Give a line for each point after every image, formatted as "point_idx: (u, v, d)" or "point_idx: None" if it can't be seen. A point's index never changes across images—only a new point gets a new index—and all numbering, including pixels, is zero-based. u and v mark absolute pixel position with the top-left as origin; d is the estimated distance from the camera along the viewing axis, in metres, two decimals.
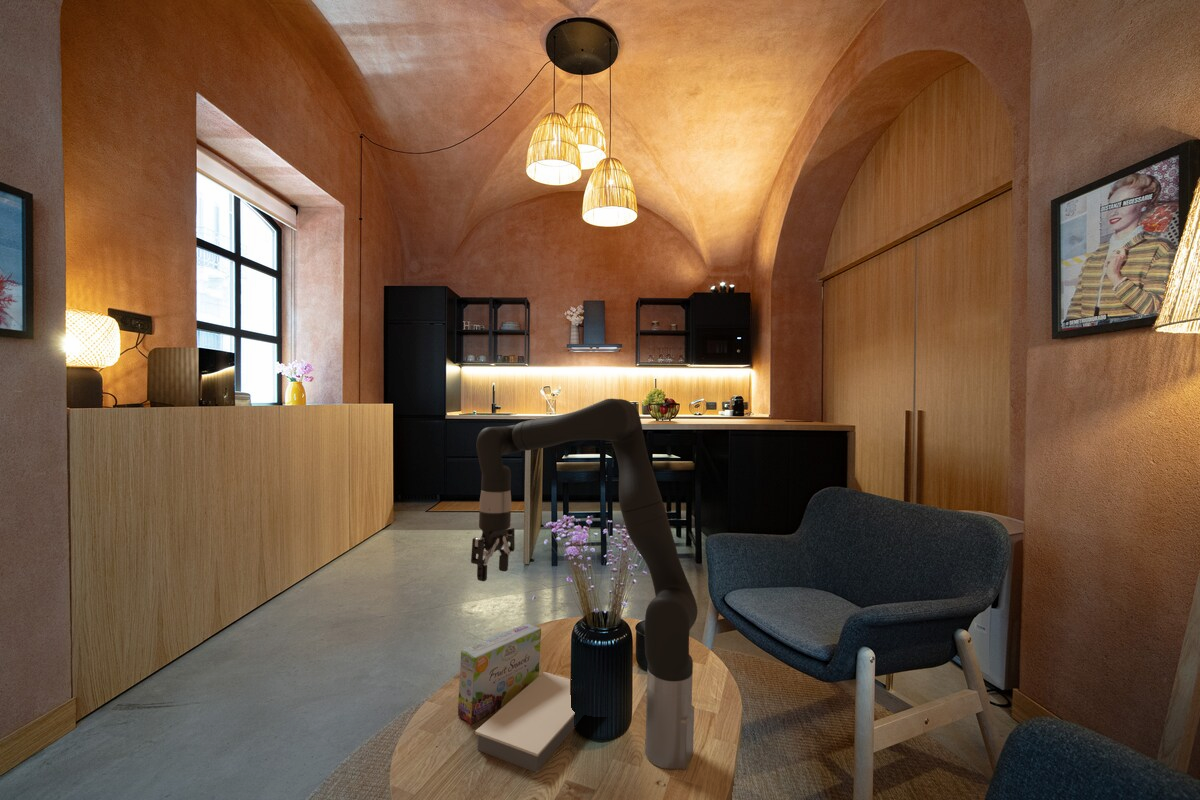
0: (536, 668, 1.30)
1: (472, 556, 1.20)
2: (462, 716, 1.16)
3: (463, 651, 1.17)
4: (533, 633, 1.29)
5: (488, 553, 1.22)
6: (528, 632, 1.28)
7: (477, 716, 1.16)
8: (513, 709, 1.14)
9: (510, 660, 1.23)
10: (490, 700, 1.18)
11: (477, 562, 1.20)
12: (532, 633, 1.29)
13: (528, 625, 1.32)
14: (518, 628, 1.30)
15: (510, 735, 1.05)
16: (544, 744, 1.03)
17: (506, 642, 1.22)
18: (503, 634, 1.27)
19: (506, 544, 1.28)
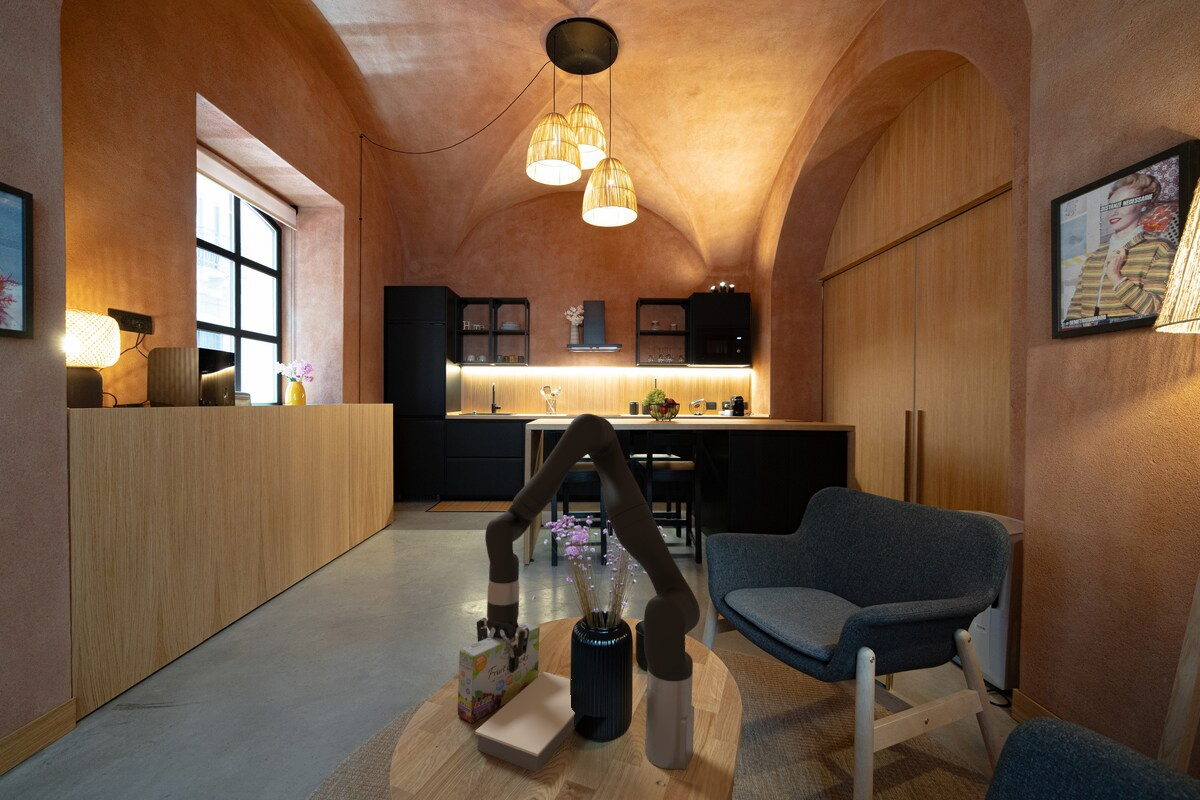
0: (535, 667, 1.30)
1: (521, 649, 1.21)
2: (462, 715, 1.16)
3: (462, 650, 1.18)
4: (531, 631, 1.29)
5: (517, 641, 1.25)
6: None
7: (477, 715, 1.16)
8: (513, 709, 1.14)
9: (509, 658, 1.23)
10: (489, 699, 1.18)
11: (525, 651, 1.23)
12: (530, 631, 1.29)
13: (526, 624, 1.33)
14: None
15: (510, 735, 1.05)
16: (544, 744, 1.03)
17: None
18: None
19: None
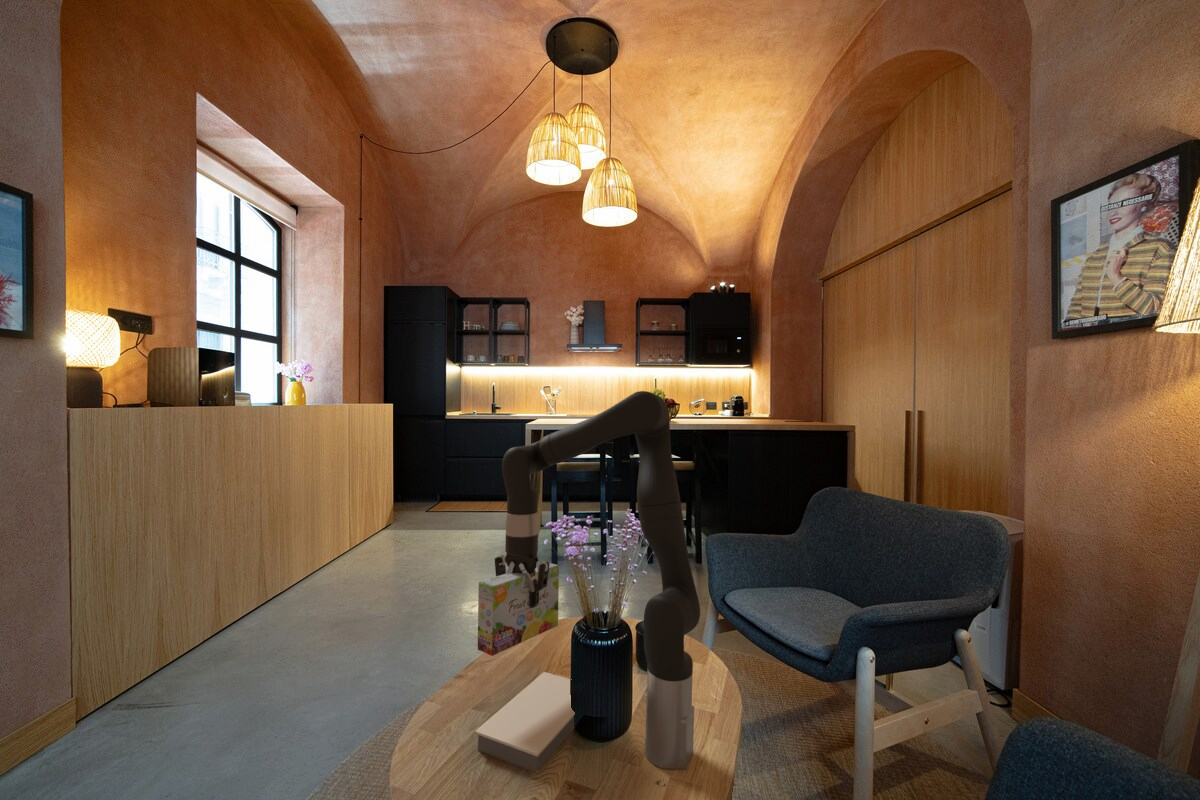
0: (555, 606, 1.26)
1: (542, 583, 1.17)
2: (482, 649, 1.12)
3: (481, 582, 1.14)
4: (551, 569, 1.25)
5: (537, 576, 1.21)
6: None
7: (498, 648, 1.12)
8: (513, 709, 1.14)
9: (529, 593, 1.19)
10: (510, 633, 1.14)
11: (545, 585, 1.19)
12: (550, 568, 1.25)
13: None
14: None
15: (510, 735, 1.05)
16: (544, 744, 1.03)
17: None
18: None
19: None
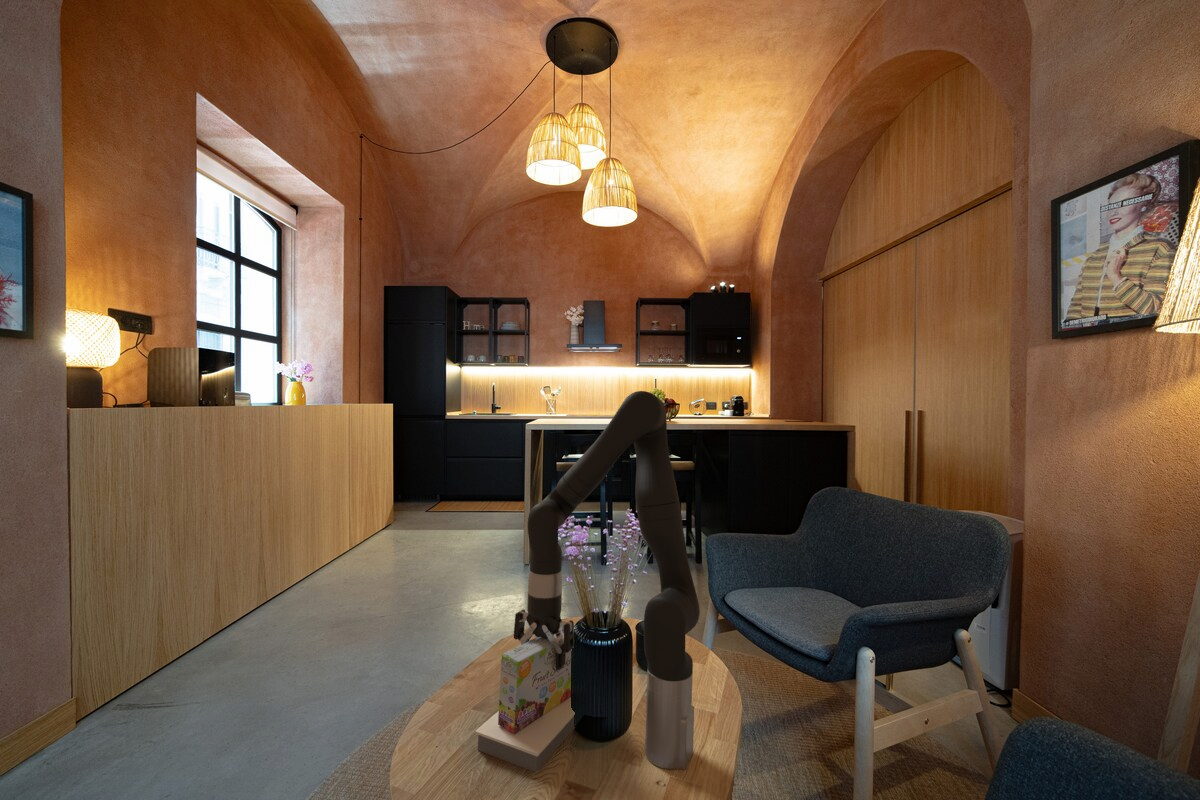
0: None
1: (569, 644, 1.12)
2: (503, 725, 1.07)
3: (504, 655, 1.08)
4: None
5: (561, 636, 1.15)
6: None
7: (520, 725, 1.06)
8: None
9: (552, 663, 1.13)
10: (532, 708, 1.09)
11: (572, 646, 1.13)
12: None
13: None
14: None
15: (510, 735, 1.05)
16: (544, 744, 1.03)
17: (548, 644, 1.13)
18: None
19: None
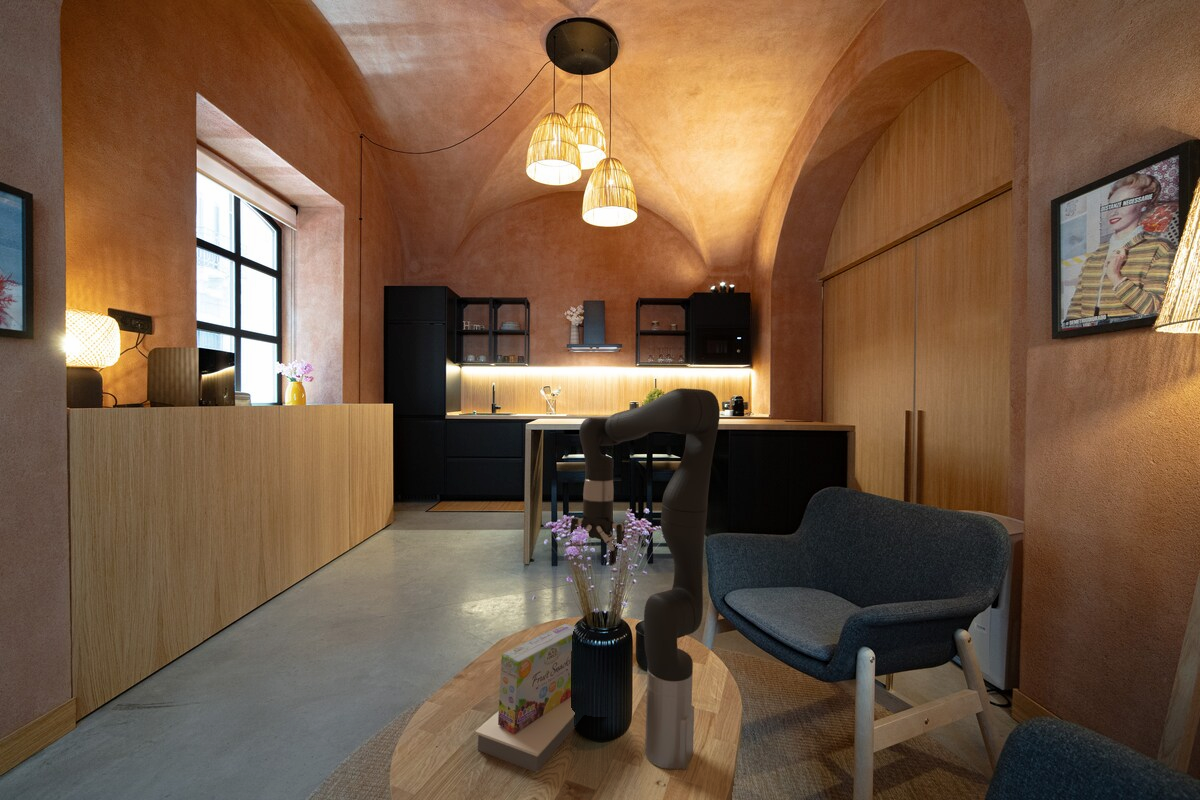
0: None
1: None
2: (503, 725, 1.07)
3: (504, 655, 1.08)
4: None
5: (613, 537, 1.30)
6: (570, 633, 1.19)
7: (520, 725, 1.06)
8: None
9: (552, 663, 1.13)
10: (532, 708, 1.09)
11: None
12: None
13: (567, 626, 1.23)
14: (557, 629, 1.21)
15: (510, 735, 1.05)
16: (544, 744, 1.03)
17: (548, 644, 1.13)
18: (543, 635, 1.17)
19: None
